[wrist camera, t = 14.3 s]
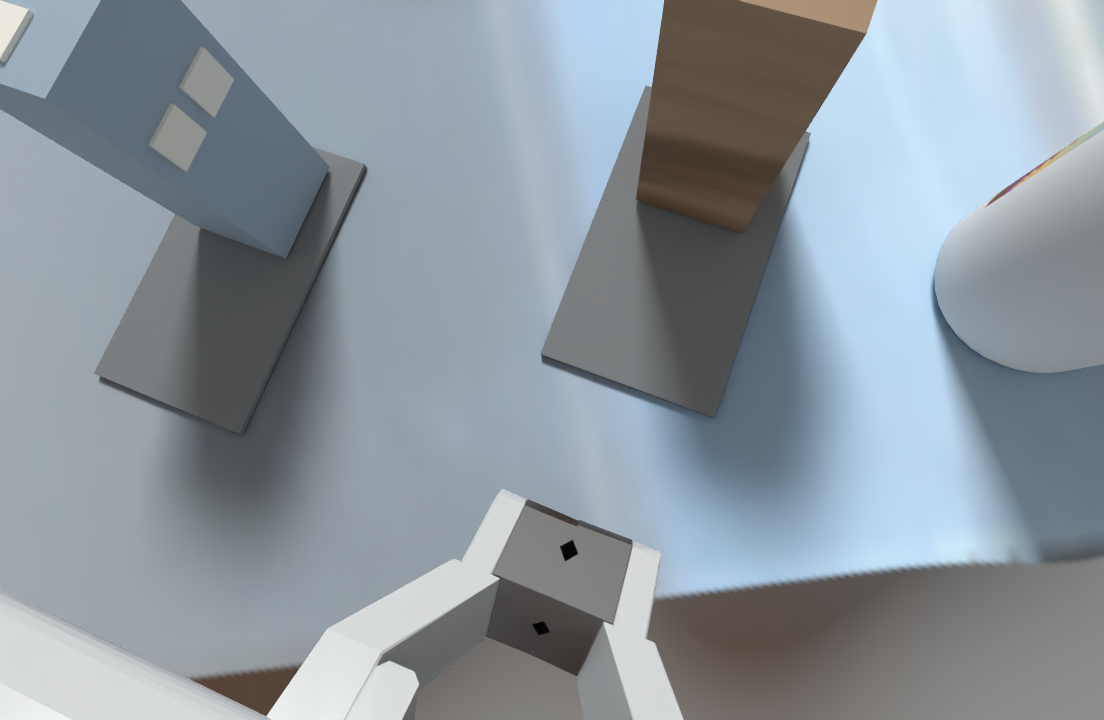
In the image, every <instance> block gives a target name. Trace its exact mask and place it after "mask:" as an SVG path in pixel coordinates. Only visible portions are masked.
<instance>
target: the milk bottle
mask: <svg viewBox="0 0 1104 720" xmlns="http://www.w3.org/2000/svg"><path fill="white" fill-rule="evenodd" d="M934 279H935V292H936V296H937V300H938V304H939V307H940V309H941V311H942V313H943V315H944V317H945V320H946V322H947V323H948V324H949V325H950V327H951V328H952V329H953V331H954V332H955V334H956V335H957V336H958V337H959V338H960V339H961V340H963V341H964V342H965V343H966V344H967V345H968V346H969V347H970V348H971V349H973V350H974V351H976V352H978V353H979V354H981V355H982V356H984V357H985V358H987V359H990V360H992V361H995V362H997V363H999V364H1001V365H1003V366H1006V367H1010V368H1013V369H1017V370H1021V371H1026V372H1034V373H1056V372H1063V371H1069V370H1075V369H1081V368H1087V367H1092V366H1097V365H1102V364H1104V122H1103V123H1101V124H1100V125H1098V126H1097V127H1095V128H1094V129H1092V130H1091V131H1089V132H1088V133H1086V134H1085V135H1083V136H1082V137H1080V138H1079V139H1077V140H1076V141H1074V142H1073V143H1071V144H1070V145H1068V146H1067V147H1065V148H1064V149H1063V150H1061V151H1060V152H1058V153H1057V154H1055V155H1054V156H1052V157H1051V158H1049V159H1048V160H1046V161H1045V162H1043V163H1042V164H1040V165H1039V166H1038V167H1036V168H1035V169H1033V170H1032V171H1030V172H1029V173H1027V174H1026V175H1024V176H1023V177H1021V178H1020V179H1018V180H1017V181H1015V182H1014V183H1012V184H1011V185H1010V186H1008V187H1007V188H1005V189H1004V190H1002V191H1001V192H999V193H998V194H996V195H995V196H994V197H992V198H991V199H989V200H988V201H986V202H985V203H983V204H982V205H980V206H979V207H978V208H976V209H975V210H974V211H972V212H971V213H970V214H968V215H967V216H966V217H965V218H963V219H962V220H961V221H960V222H959V223H958V224H957V225H956V226H955V227H954V228H953V229H952V230H951V232H950V233H949V234H948V236H947V237H946V239H945V241H944V243H943V245H942V247H941V249H940V252H939V255H938V258H937V262H936V268H935V273H934Z"/></svg>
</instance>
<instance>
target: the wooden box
mask: <svg viewBox="0 0 1104 720" xmlns="http://www.w3.org/2000/svg"><path fill="white" fill-rule="evenodd" d="M876 3H877V0H664V7H663V14H662V21H661V28H660V35H659V42H658V49H657V56H656V63H655V70H654V76H653V83H652V90H651V97H650V104H649V111H648V118H647V125H646V132H645V139H644V146H643V153H642V160H641V167H640V173H639V180H638V187H637V194H636V200H638V201H641V202H644V203H647V204H651V205H654V206H657V207H660V208H663V209H666V210H669V211H673V212H676V213H679V214H682V215H685V216H688V217H692V218H695V219H698V220H701V221H704V222H707V223H711V224H714V225H717V226H720V227H723V228H726V229H730V230H733V231H736V232H739V233H743V231H744V229H745V228H746V226H747V225H748V223H749V221H750V220H751V218H752V217H753V215H754V213H755V212H756V210H757V209H758V207H759V205H760V204H761V202H762V201H763V199H764V197H765V196H766V194H767V193H768V191H769V189H770V188H771V186H772V184H773V183H774V181H775V180H776V178H777V176H778V175H779V173H780V172H781V170H782V168H783V167H784V165H785V164H786V162H787V160H788V159H789V157H790V156H791V154H792V152H793V151H794V149H795V147H796V146H797V144H798V143H799V141H800V139H801V138H802V136H803V135H804V133H805V131H806V130H807V128H808V127H809V125H810V123H811V122H812V120H813V119H814V117H815V115H816V114H817V112H818V111H819V109H820V107H821V106H822V104H823V102H824V101H825V99H826V98H827V96H828V94H829V93H830V91H831V90H832V88H833V86H834V85H835V83H836V82H837V80H838V78H839V77H840V75H841V74H842V72H843V70H844V69H845V67H846V65H847V64H848V62H849V61H850V59H851V57H852V56H853V54H854V53H855V51H856V49H857V48H858V46H859V45H860V43H861V41H862V40H863V38H864V37H865V35H866V33H867V30H868V27H869V24H870V21H871V18H872V15H873V12H874V9H875V6H876Z"/></svg>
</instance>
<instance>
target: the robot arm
mask: <svg viewBox="0 0 1104 720" xmlns="http://www.w3.org/2000/svg"><path fill="white" fill-rule="evenodd" d="M660 562H661V554H660V552H659V551H657V550H654V549H652V548H649V547H647V546H644V545H642V544H639V543H636V542H634V541H633V542H632V540H631V539H628V538H625V537H623V536H620V535H617V534H615V533H612V532H610V531H607V530H604V529H602V528H599V527H596V526H594V525H591V524H589V523H586V522H583V521H581V520H579V521H578V520H575V519H573V518H571V517H568V516H566V515H564V514H561V513H559V512H557V511H554V510H552V509H550V508H547V507H545V506H543V505H540V504H538V503H536V502H533V501H531V500H528V499H526V498H523V497H521V496H519V495H516V494H514V493H511V492H509V491H506V490H504V489H502V490H501V491H500V492H499V493H498V494H497V496H496V498H495V499H494V501H493V503H492V505H491V507H490V509H489V511H488V512H487V514H486V516H485V518H484V520H483V522H482V524H481V526H480V527H479V529H478V531H477V533H476V535H475V537H474V539H473V541H472V542H471V544H470V546H469V548H468V550H467V552H466V554H465V556H464V557H463V559H462V561H459V560H456V559H452V560H450V561H448V562H446V563H445V564H443V565H441V566H439V567H437V568H436V569H434V570H432V571H430V572H428V573H427V574H425V575H423V576H421V577H419V578H418V579H416V580H414V581H412V582H410V583H409V584H407V585H405V586H403V587H401V588H400V589H398V590H396V591H394V592H393V593H391V594H389V595H387V596H385V597H384V598H382V599H380V600H378V601H376V602H375V603H373V604H371V605H369V606H367V607H366V608H364V609H362V610H360V611H358V612H357V613H355V614H353V615H351V616H349V617H348V618H346V619H344V620H342V621H340V622H339V623H337V624H335V625H333V626H331V627H330V628H328V629H327V630H326V631H325V633H324V634H323V636H322V637H321V639H320V640H319V641H318V643H317V644H316V646H315V647H314V649H313V650H312V652H311V653H310V654H309V656H308V657H307V659H306V660H305V662H304V663H303V665H302V666H301V667H300V669H299V670H298V672H297V673H296V675H295V676H294V678H293V679H292V680H291V682H290V683H289V685H288V686H287V688H286V689H285V691H284V692H283V693H282V695H281V697H280V698H279V699H278V701H277V702H276V703H275V705H274V706H273V708H272V709H271V711H270V712H269V714H268V715H267V716H264V715H262V714H260V713H258V712H256V711H254V710H252V709H250V708H247V707H245V706H243V705H241V704H239V703H237V702H235V701H233V700H231V699H229V698H227V697H225V696H223V695H220V694H219V693H216V692H214V691H212V690H210V689H208V688H206V687H204V686H202V685H200V684H198V683H196V682H194V681H192V680H190V679H188V678H186V677H183V676H181V675H179V674H177V673H175V672H173V671H171V670H169V669H167V668H165V667H163V666H161V665H159V664H157V663H155V662H152V661H150V660H148V659H146V658H144V657H142V656H140V655H138V654H136V653H134V652H132V651H130V650H128V649H126V648H124V647H122V646H119V645H117V644H115V643H113V642H111V641H109V640H107V639H105V638H103V637H101V636H99V635H97V634H95V633H93V632H91V631H88V630H86V629H84V628H82V627H80V626H78V625H76V624H74V623H72V622H70V621H68V620H66V619H64V618H62V617H60V616H57V615H55V614H53V613H51V612H49V611H47V610H45V609H43V608H41V607H39V606H37V605H35V604H33V603H31V602H29V601H26V600H24V599H22V598H20V597H18V596H16V595H14V594H12V593H10V592H8V591H6V590H4V589H2V588H0V720H414V719H415V712H416V705H417V697H418V691H419V690H421V689H422V688H423V687H425V686H426V685H427V684H428V683H430V682H431V681H432V680H434V679H435V678H436V677H437V676H439V675H440V674H441V673H443V672H444V671H445V670H446V669H448V668H449V667H450V666H452V665H453V664H454V663H456V662H457V661H458V660H459V659H461V658H462V657H463V656H465V655H466V654H467V653H468V652H470V651H471V650H472V649H474V648H475V647H476V646H477V645H479V644H480V643H481V642H482V641H484V640H485V637H488V638H490V639H493V640H496V641H498V642H500V643H503V644H505V645H508V646H510V647H513V648H515V649H518V650H520V651H523V652H525V653H528V654H530V655H532V656H534V657H537V658H539V659H541V660H543V661H545V662H547V663H550V664H552V665H554V666H556V667H558V668H560V669H562V670H564V671H567V672H569V673H571V674H573V675H575V676H577V678H576V680H577V685H578V690H579V695H580V700H581V704H582V710H583V715H584V720H683V717H682V715H681V712H680V709H679V706H678V704H677V701H676V698H675V696H674V693H673V690H672V688H671V685H670V682H669V679H668V677H667V674H666V671H665V669H664V666H663V663H662V661H661V658H660V655H659V653H658V650H657V647H656V645H655V643H654V642H651V641H649V640H647V639H646V638H647V633H648V627H649V622H650V616H651V611H652V606H653V600H654V595H655V589H656V584H657V579H658V573H659V568H660Z"/></svg>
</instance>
